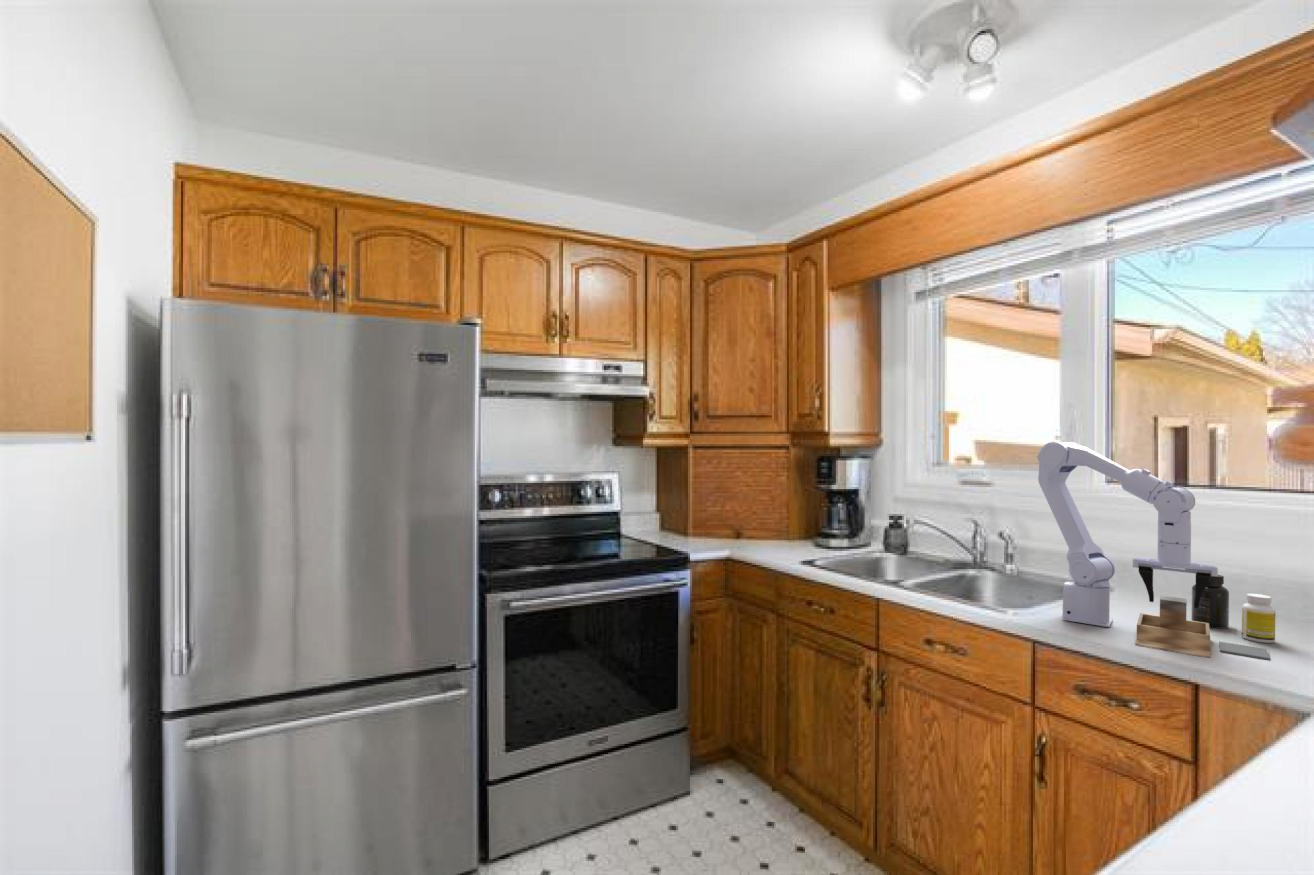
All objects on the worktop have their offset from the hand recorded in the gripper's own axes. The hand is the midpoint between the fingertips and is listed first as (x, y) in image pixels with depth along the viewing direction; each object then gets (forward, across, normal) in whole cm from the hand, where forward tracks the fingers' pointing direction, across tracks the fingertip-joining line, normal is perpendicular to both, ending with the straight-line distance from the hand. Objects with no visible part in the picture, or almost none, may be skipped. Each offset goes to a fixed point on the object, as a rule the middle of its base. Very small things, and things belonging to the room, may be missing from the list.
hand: (1173, 604), depth 142 cm
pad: (+8, +11, 0) cm, 14 cm away
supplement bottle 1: (+8, +6, +21) cm, 23 cm away
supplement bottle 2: (+8, +14, +13) cm, 21 cm away
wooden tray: (+8, 0, 0) cm, 8 cm away
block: (+8, 0, 0) cm, 8 cm away
